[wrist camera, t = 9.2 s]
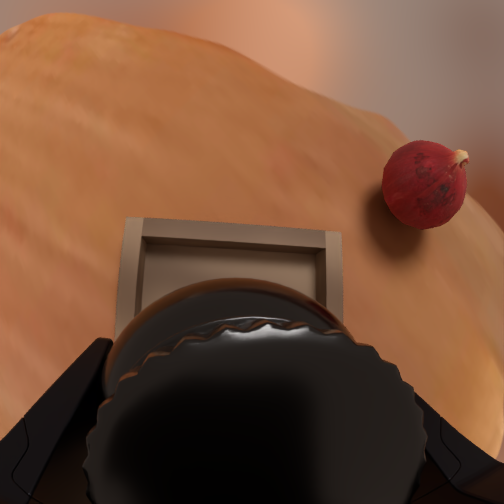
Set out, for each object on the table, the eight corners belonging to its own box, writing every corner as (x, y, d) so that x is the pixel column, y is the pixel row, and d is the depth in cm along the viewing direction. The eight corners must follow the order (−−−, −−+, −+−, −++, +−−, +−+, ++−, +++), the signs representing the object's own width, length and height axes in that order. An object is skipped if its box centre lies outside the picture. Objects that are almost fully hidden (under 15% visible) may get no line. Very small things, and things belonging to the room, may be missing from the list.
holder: (306, 545, 14) (316, 563, 12) (142, 547, 13) (137, 566, 10) (325, 243, 20) (341, 232, 17) (135, 230, 18) (126, 216, 16)
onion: (408, 257, 21) (488, 225, 13) (350, 207, 21) (415, 152, 13) (432, 201, 22) (498, 160, 14) (380, 156, 22) (437, 98, 15)
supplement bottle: (204, 273, 15) (216, 121, 4) (313, 350, 15) (520, 375, 4) (124, 381, 13) (-30, 488, 2) (238, 455, 13) (311, 637, 2)
